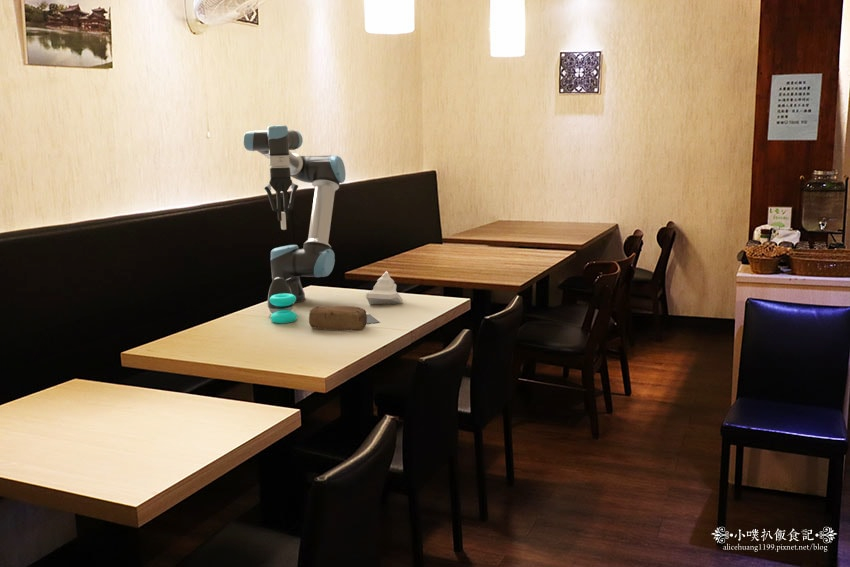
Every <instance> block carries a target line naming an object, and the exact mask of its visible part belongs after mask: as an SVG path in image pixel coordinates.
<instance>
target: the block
mask: <svg viewBox="0 0 850 567" xmlns="http://www.w3.org/2000/svg"><path fill="white" fill-rule="evenodd" d="M366 314H367V311H366V309H365V308H363V307H358V306H351V305H350V306H348V305H329V306H328V305H326V306H325V305H319V306H313V307H312V308H310V310H309V315H308V323H309V325H310V326H309V327H310V328H312V329H316V330H329V331H362V330H364V329H365V328H366V326H367V325H368V324H367V315H366Z"/></svg>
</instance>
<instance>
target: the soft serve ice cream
mask: <svg viewBox="0 0 850 567" xmlns="http://www.w3.org/2000/svg"><path fill="white" fill-rule="evenodd" d="M376 281H377V282H376V283H375V285H373V287H372V288H373V289H371V290H370V291H368V292H366V294H365V295H366V297H365V298H366V300H367V302H368V304H369V305H370V304H371V305H387V304H386V303H395V304H403V303H402V302H403V301H404V300H403V299H404V298H403V297H402V296H401V295H400V293H399V292H397V284H396V283H395V280H394V279H393V278H391V275H390V274H389V272H388V271H387V270H386V271H385V272H384V273H383V274H382V275H381V276H380V277H379V278H378V279H377V280H376Z"/></svg>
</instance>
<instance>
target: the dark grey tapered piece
mask: <svg viewBox="0 0 850 567" xmlns="http://www.w3.org/2000/svg"><path fill="white" fill-rule="evenodd" d="M291 280H292V278H289V279H287V280H285V279H284V278H283V277H276V278H275V279H274V280H273V281H271V284H270V286H269V290H268V295H267V307H268V310H269V312H270V313H271V315H272V314H273V313H275V312H277V311H282V310H289V311H293V308H294V306H295V303H293V304H291V305H288V306H275V305H272V304H271V303H270V301H269V299H270V297H271V296H273V295H276V294H283V293H288V294H292V292H291V289H290V287H289V285H288V282H290V281H291Z"/></svg>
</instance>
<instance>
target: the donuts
mask: <svg viewBox="0 0 850 567" xmlns="http://www.w3.org/2000/svg"><path fill="white" fill-rule="evenodd" d="M269 301H270V303H271V304H272V305H275V306H288V305H291V304H293V303H294V302H295V301H296V297H295V295H293V294H288V293H283V294H276V295H273V296H271V297H270V299H269ZM295 303H296V302H295ZM295 303H294V304H295ZM297 319H298V314H297V313H296V312H294V311H293V310H292V311H289V310H282V311H277V312H275V313H273V314H272V313H271V315H270V320H271V322H273V323H274V322H275V323H274V324H289V322H290V323H293V322H295V321H296V320H297Z"/></svg>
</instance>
